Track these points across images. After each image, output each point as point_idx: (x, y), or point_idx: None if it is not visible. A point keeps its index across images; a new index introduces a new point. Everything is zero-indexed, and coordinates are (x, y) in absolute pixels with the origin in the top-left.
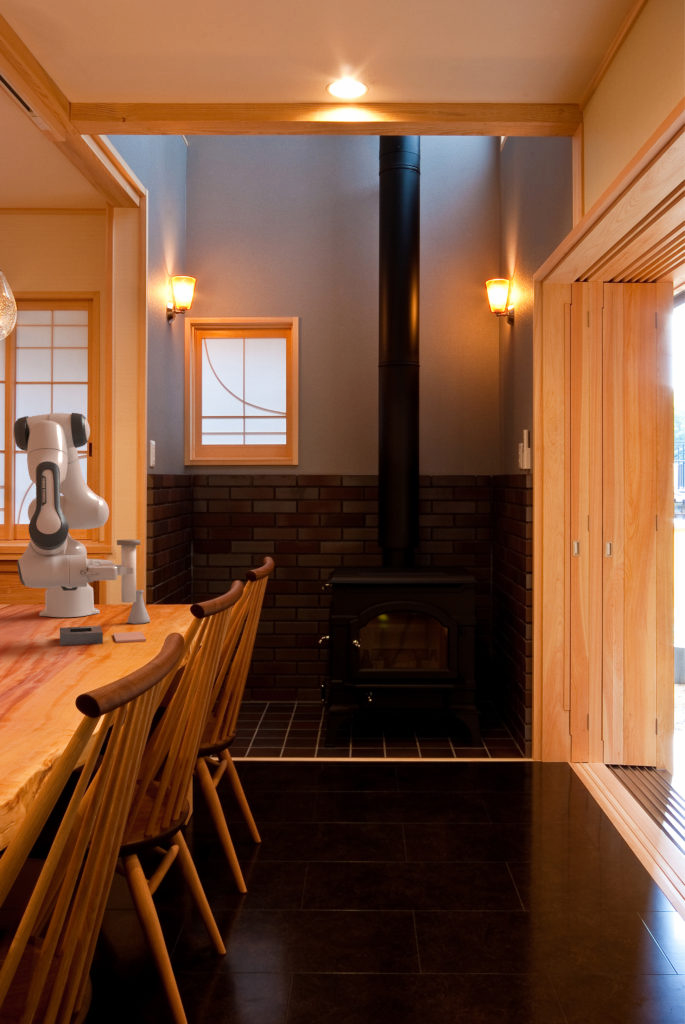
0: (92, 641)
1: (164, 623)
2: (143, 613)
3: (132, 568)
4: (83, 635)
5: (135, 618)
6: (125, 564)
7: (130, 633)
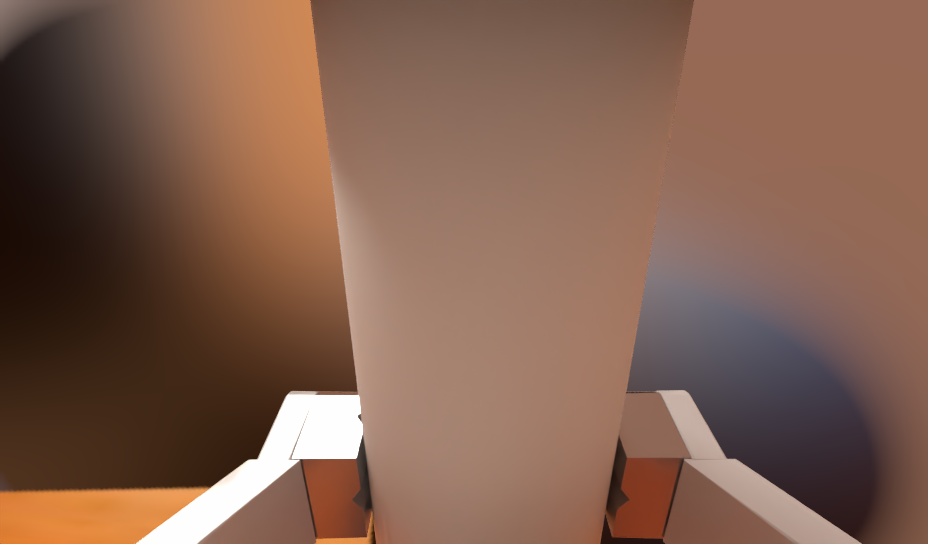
0: None
1: (71, 538)
2: None
3: (684, 396)
4: None
5: None
6: (614, 425)
7: None
